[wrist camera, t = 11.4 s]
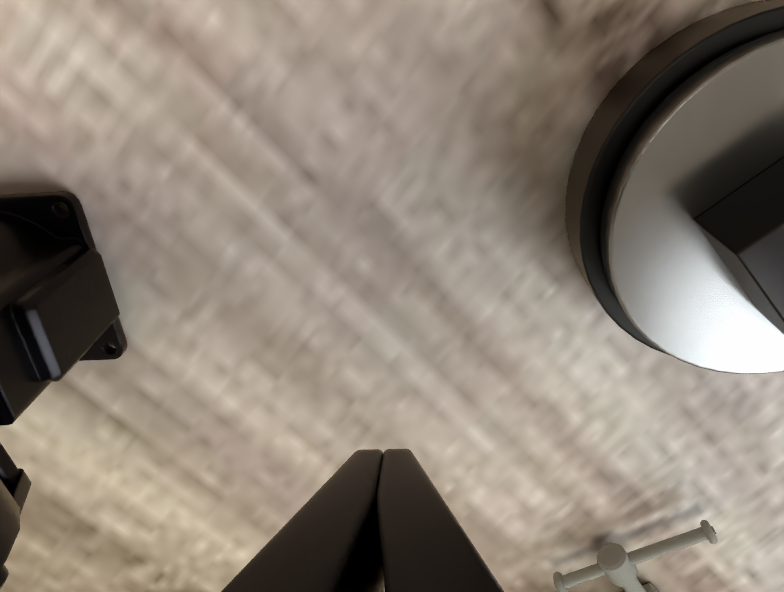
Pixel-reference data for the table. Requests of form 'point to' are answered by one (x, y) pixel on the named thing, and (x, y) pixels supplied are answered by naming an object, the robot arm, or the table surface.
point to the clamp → (632, 561)
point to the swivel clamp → (706, 216)
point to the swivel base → (627, 116)
